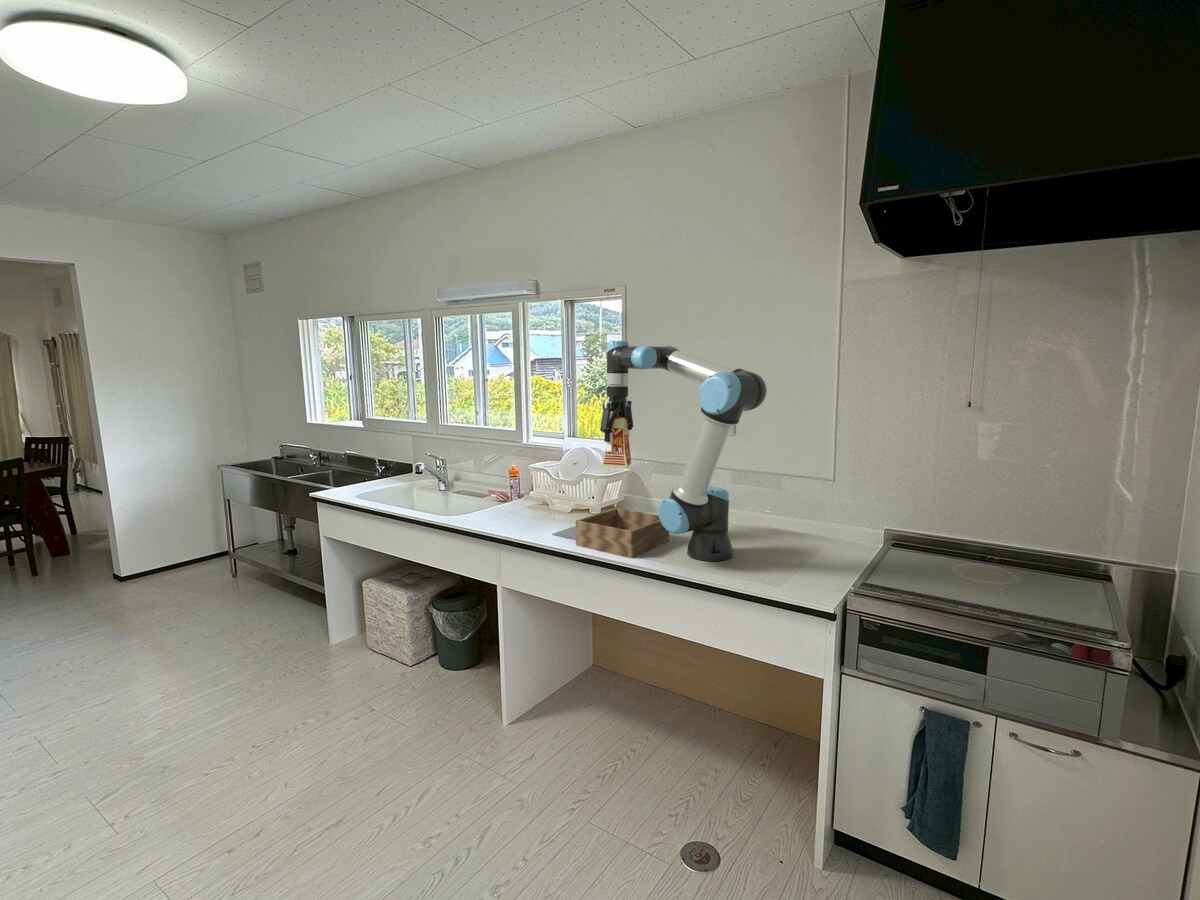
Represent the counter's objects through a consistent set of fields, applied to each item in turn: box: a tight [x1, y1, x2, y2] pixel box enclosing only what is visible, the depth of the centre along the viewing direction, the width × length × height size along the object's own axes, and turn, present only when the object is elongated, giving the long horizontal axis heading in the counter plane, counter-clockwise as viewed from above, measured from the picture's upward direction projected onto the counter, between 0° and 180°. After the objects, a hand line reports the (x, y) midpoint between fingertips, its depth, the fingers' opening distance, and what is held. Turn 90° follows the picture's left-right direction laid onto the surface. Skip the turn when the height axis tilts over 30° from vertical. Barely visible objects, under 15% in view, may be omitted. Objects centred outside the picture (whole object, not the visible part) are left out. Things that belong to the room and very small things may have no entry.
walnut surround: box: [575, 507, 670, 559], centre depth 219 cm, size 24×24×9 cm
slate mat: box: [551, 525, 576, 541], centre depth 232 cm, size 14×14×1 cm
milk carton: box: [601, 413, 632, 469], centre depth 216 cm, size 9×9×20 cm
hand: (617, 449), depth 216 cm, fingers closed on milk carton, 9 cm apart
